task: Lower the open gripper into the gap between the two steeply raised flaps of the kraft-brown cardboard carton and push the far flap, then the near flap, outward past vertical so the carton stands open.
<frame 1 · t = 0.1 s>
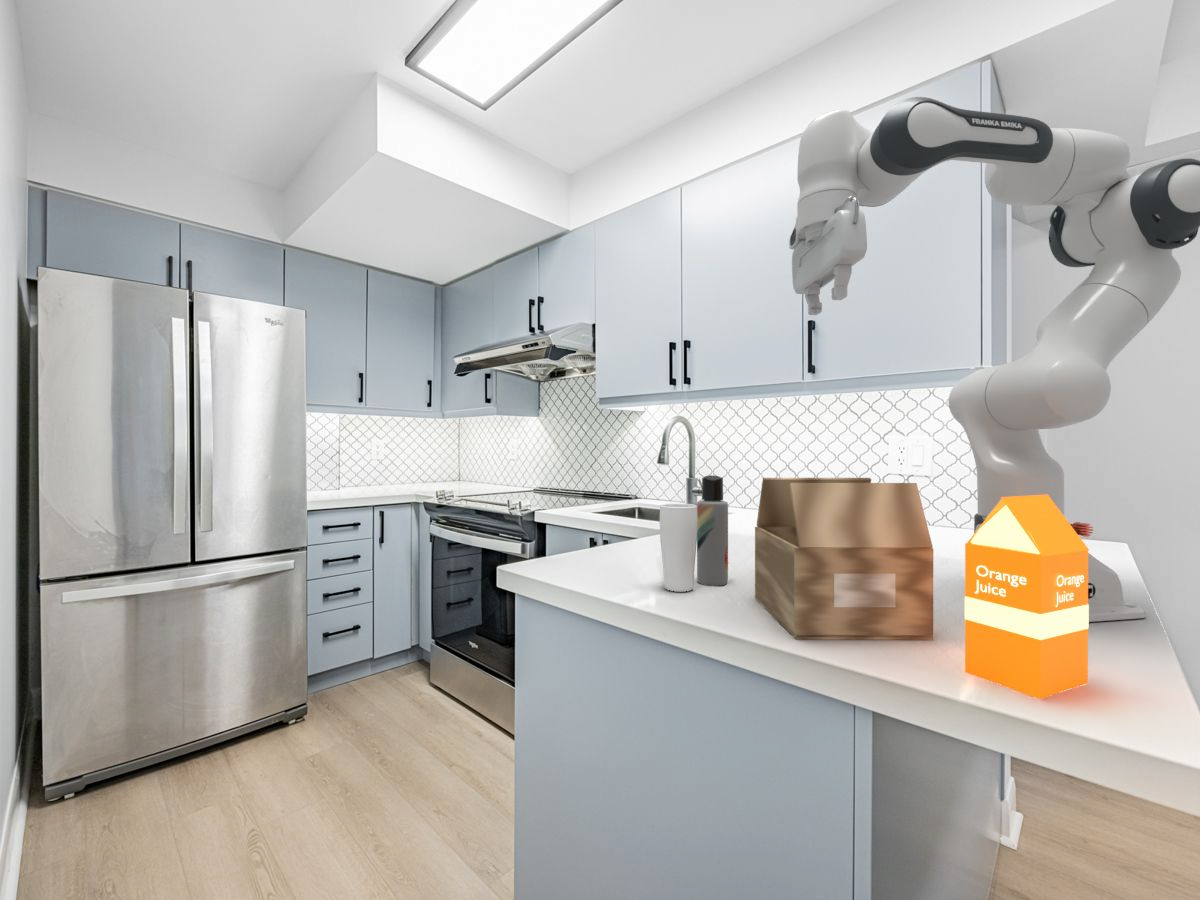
hand: (826, 307, 89), 48 cm above the counter, tool pointing down, fingers open, 8 cm apart
far flap: (812, 502, 91), point 16 cm above the counter, hinge at 65.0°
lotion bottle: (712, 583, 104), on the counter
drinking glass: (678, 590, 99), on the counter
orange juice: (1025, 679, 61), on the counter
carton: (833, 616, 83), on the counter
near flap: (858, 515, 75), point 16 cm above the counter, hinge at 65.0°
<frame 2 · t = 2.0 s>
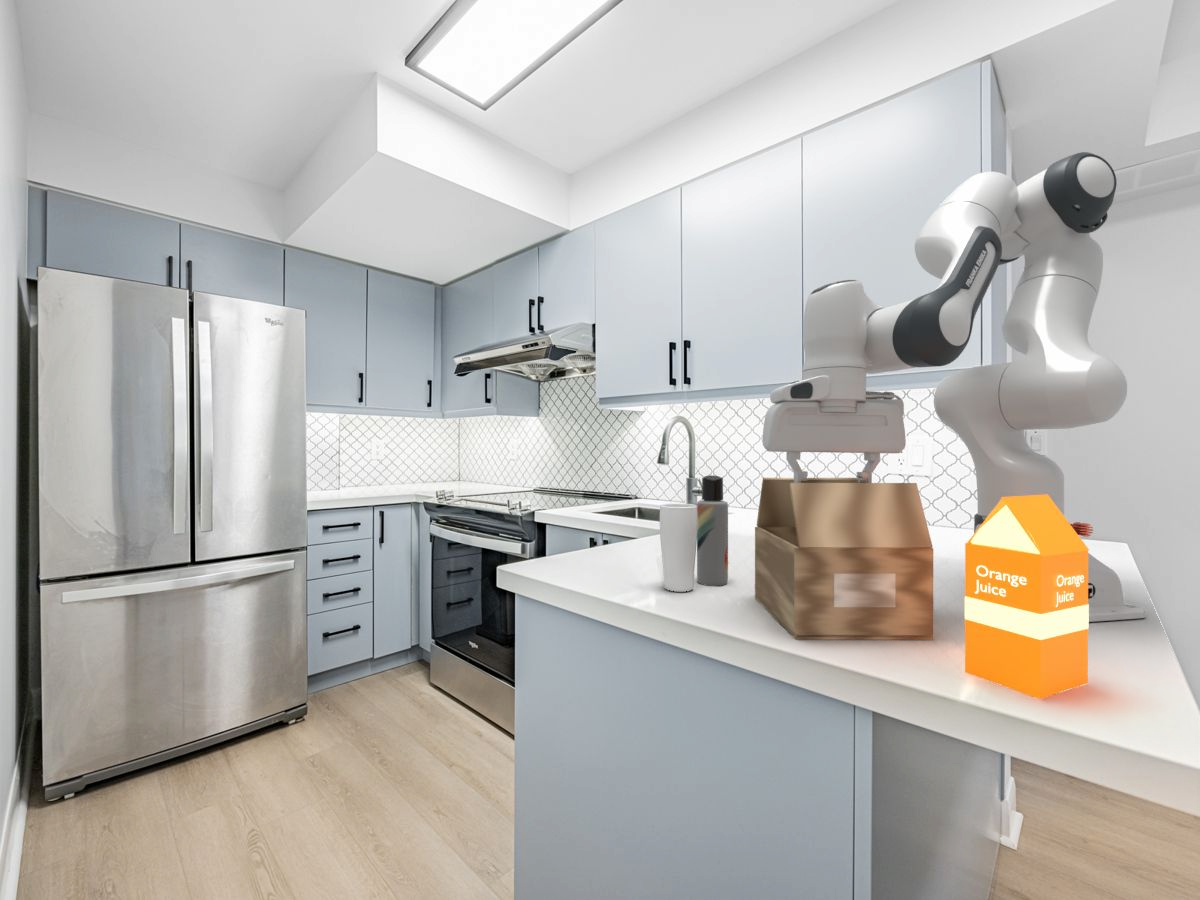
hand: (832, 483, 83), 20 cm above the counter, tool pointing down, fingers open, 8 cm apart
nothing on the counter moved.
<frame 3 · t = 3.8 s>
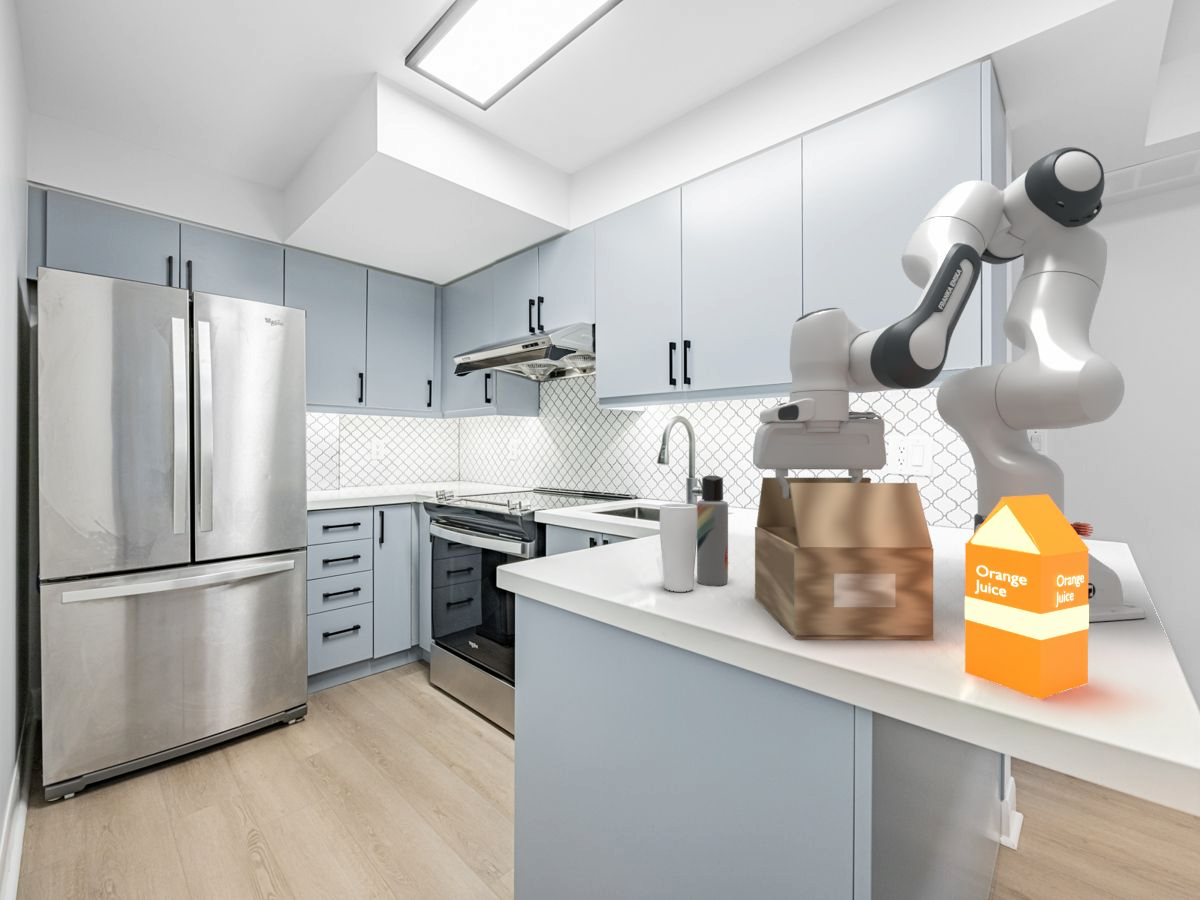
hand: (818, 498, 89), 17 cm above the counter, tool pointing down
far flap: (812, 502, 91), point 16 cm above the counter, hinge at 65.5°, touching gripper
everything else where it was.
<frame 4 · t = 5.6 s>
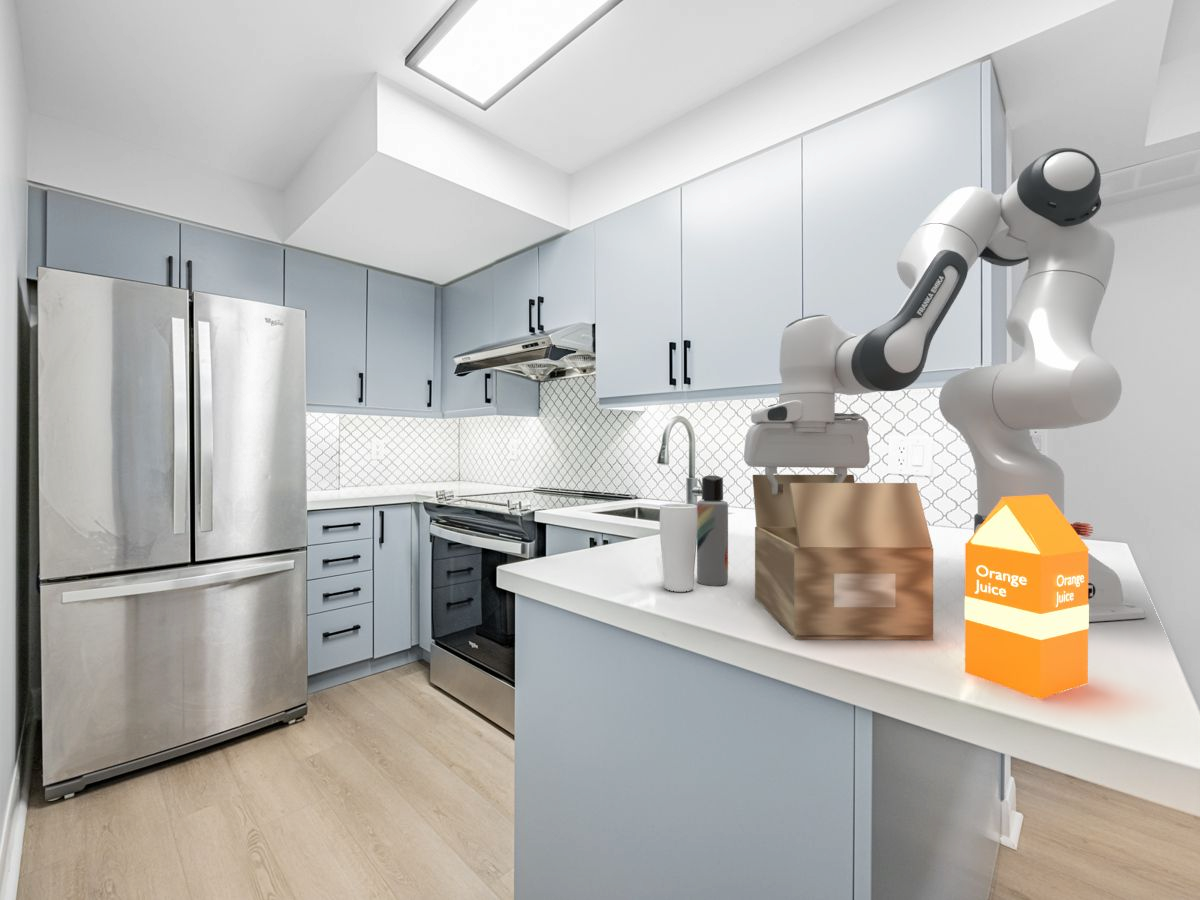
hand: (805, 494, 94), 17 cm above the counter, tool pointing down
far flap: (805, 500, 95), point 16 cm above the counter, hinge at 106.6°, touching gripper
everything else where it was.
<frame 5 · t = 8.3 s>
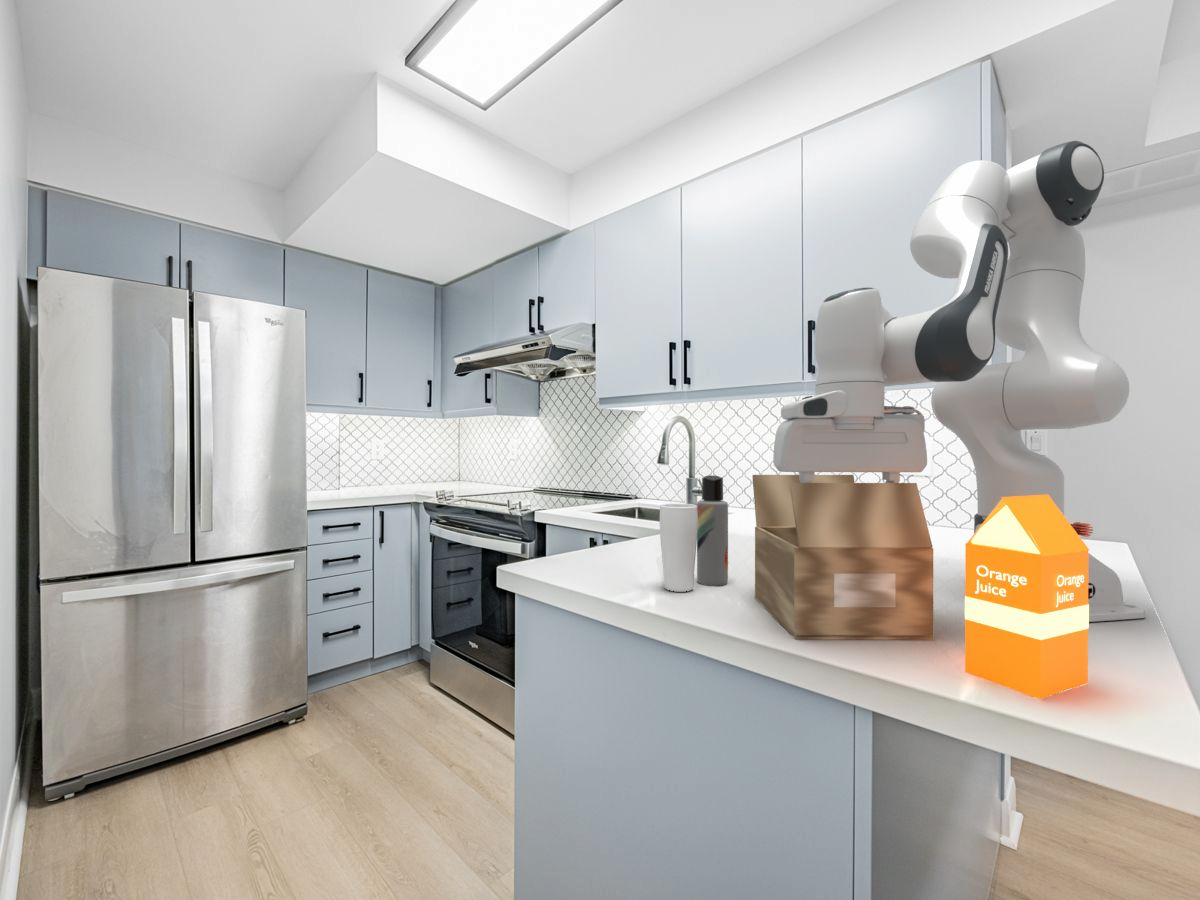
hand: (848, 505, 78), 17 cm above the counter, tool pointing down
far flap: (805, 500, 95), point 16 cm above the counter, hinge at 107.0°
near flap: (858, 515, 75), point 16 cm above the counter, hinge at 65.0°, touching gripper
everything else where it was.
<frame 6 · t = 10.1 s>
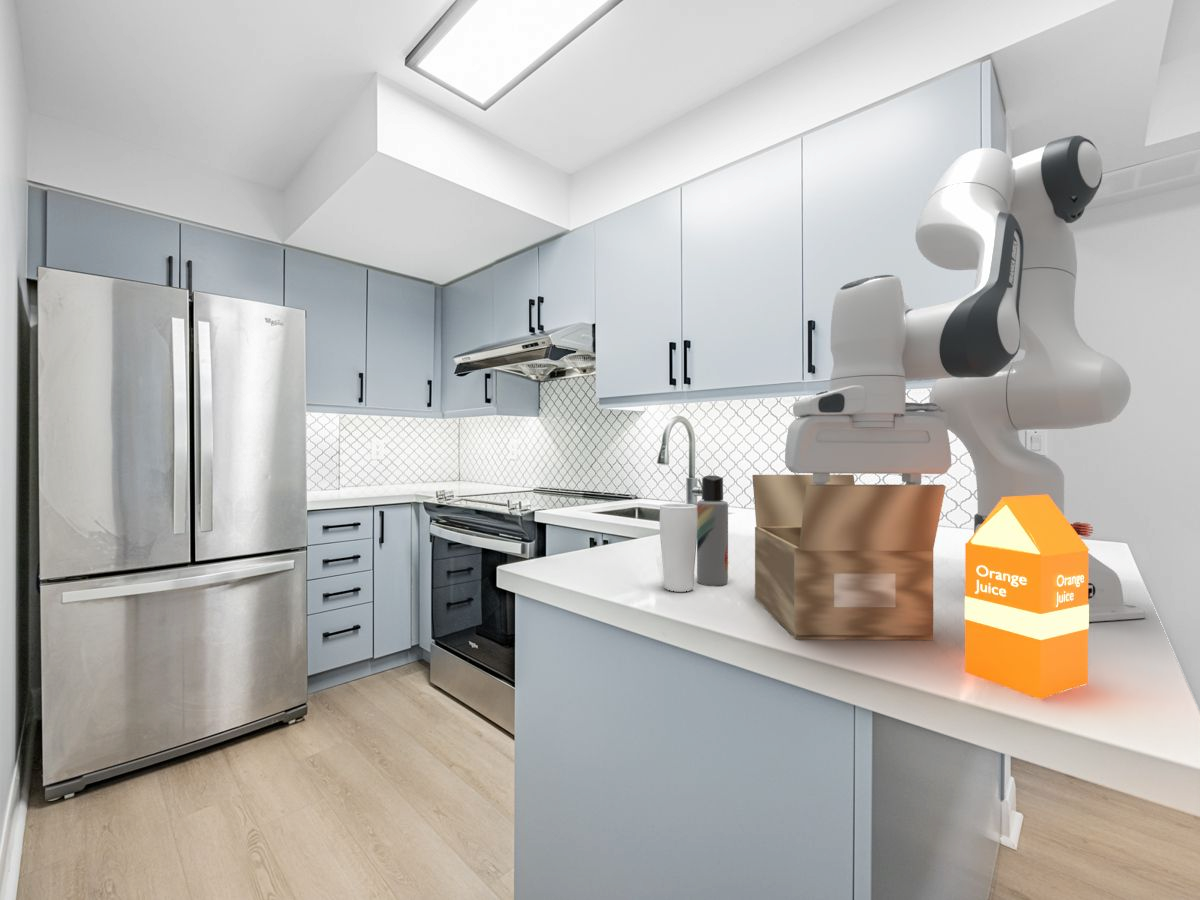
hand: (866, 509, 72), 17 cm above the counter, tool pointing down
near flap: (870, 518, 71), point 16 cm above the counter, hinge at 107.6°, touching gripper
everything else where it was.
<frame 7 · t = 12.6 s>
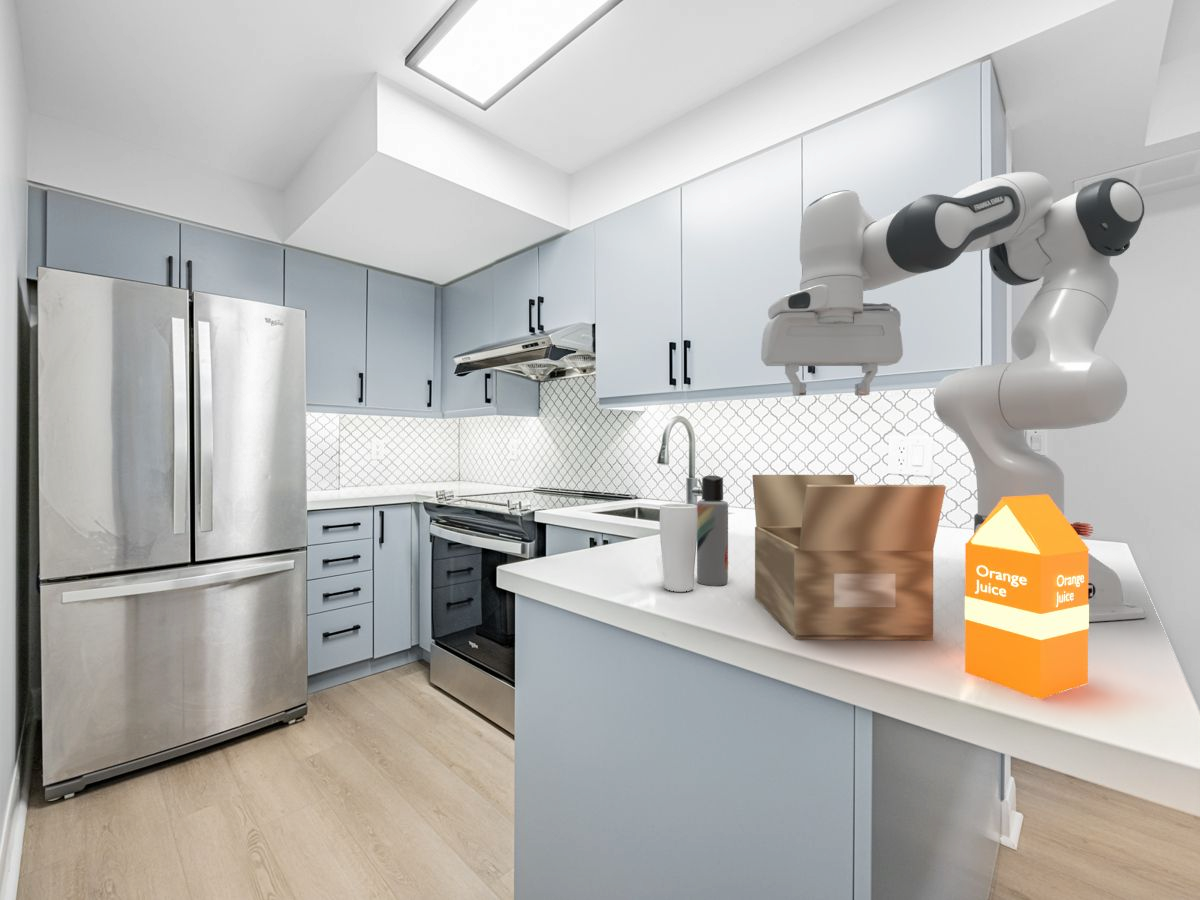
hand: (830, 395, 84), 33 cm above the counter, tool pointing down, fingers open, 8 cm apart
near flap: (870, 518, 71), point 16 cm above the counter, hinge at 108.0°
everything else where it was.
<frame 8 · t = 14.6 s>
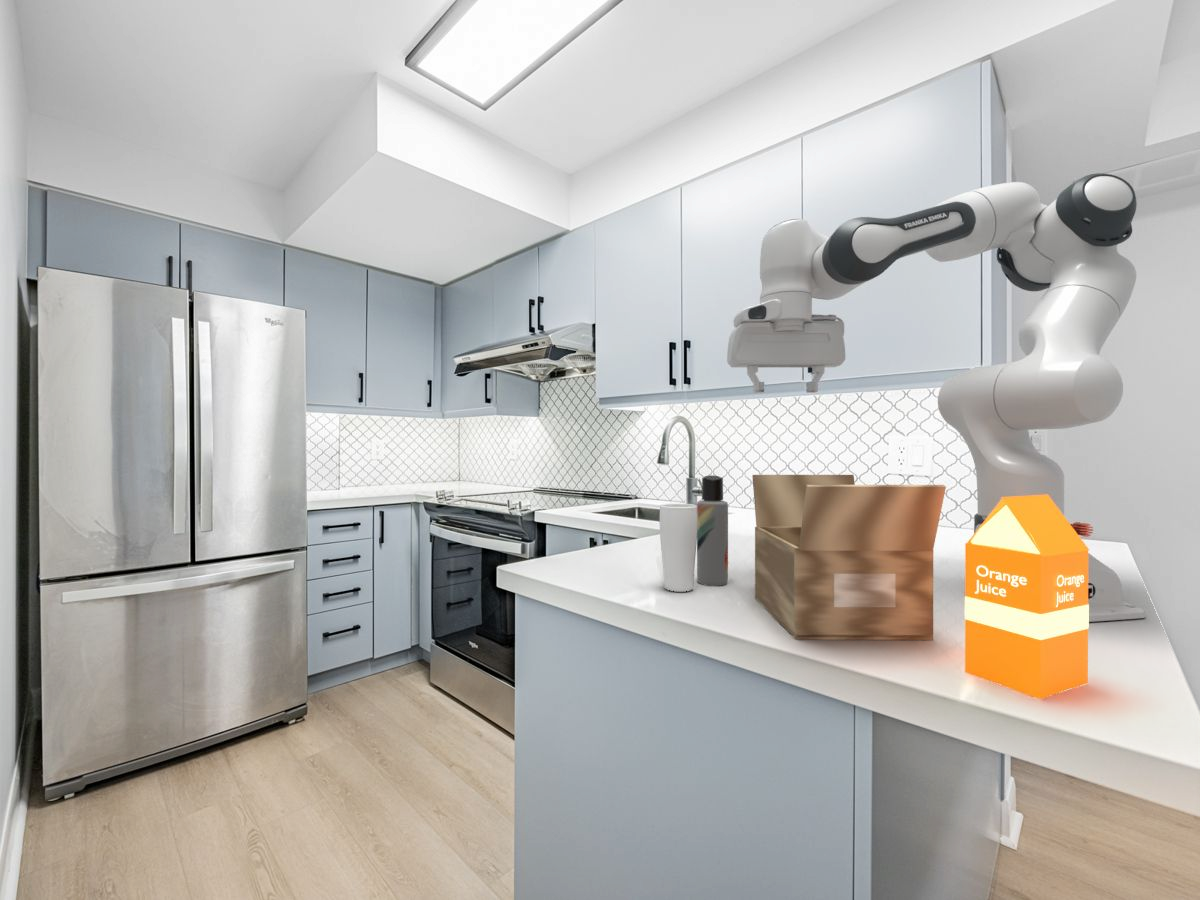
hand: (785, 392, 99), 35 cm above the counter, tool pointing down, fingers open, 8 cm apart
nothing on the counter moved.
at the end: far flap at +107° (first picture: +65°); near flap at +108° (first picture: +65°) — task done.
